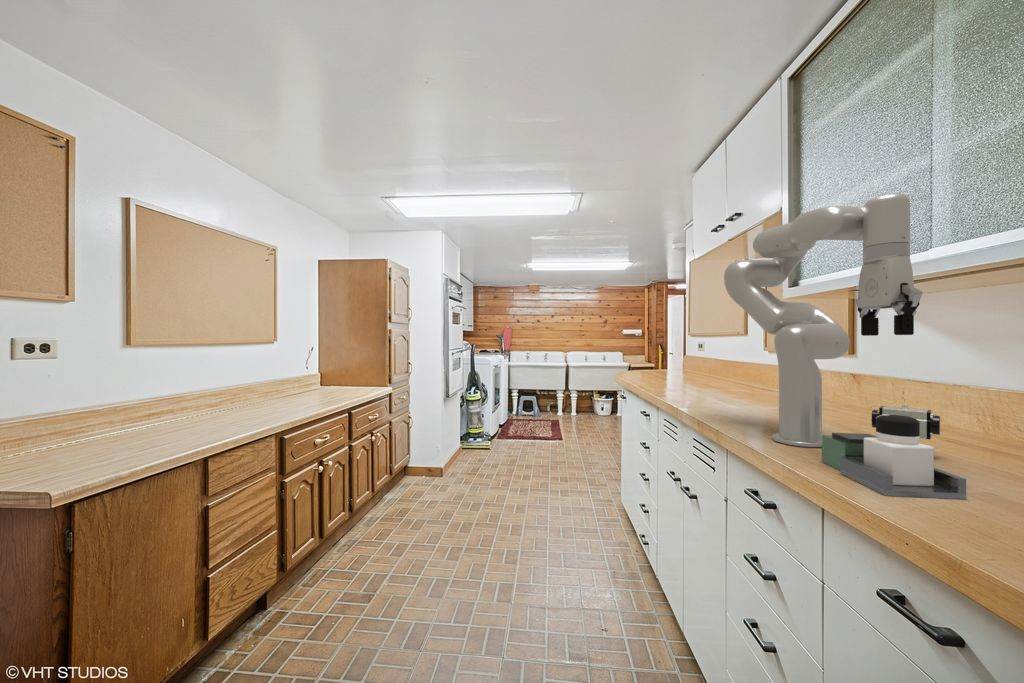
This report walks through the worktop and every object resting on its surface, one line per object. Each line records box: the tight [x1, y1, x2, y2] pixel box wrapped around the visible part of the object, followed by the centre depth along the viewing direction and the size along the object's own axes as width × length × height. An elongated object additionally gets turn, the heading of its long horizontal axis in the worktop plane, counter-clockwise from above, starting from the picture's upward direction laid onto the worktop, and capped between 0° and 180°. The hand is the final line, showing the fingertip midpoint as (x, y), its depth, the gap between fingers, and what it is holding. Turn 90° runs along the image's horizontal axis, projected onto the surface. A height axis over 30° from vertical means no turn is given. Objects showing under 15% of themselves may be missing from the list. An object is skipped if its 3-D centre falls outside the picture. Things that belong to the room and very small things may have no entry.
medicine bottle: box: [864, 415, 935, 486], centre depth 79 cm, size 7×7×12 cm
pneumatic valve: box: [871, 403, 941, 440], centre depth 100 cm, size 6×12×12 cm, turn 43°
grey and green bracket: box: [821, 432, 967, 500], centre depth 83 cm, size 21×12×7 cm, turn 172°
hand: (885, 335), depth 90 cm, fingers open, 9 cm apart
